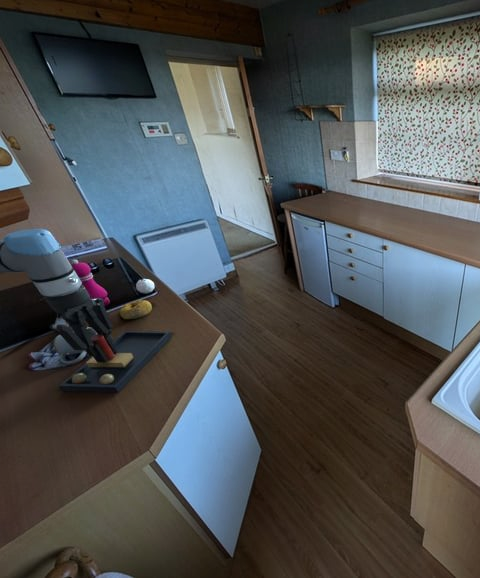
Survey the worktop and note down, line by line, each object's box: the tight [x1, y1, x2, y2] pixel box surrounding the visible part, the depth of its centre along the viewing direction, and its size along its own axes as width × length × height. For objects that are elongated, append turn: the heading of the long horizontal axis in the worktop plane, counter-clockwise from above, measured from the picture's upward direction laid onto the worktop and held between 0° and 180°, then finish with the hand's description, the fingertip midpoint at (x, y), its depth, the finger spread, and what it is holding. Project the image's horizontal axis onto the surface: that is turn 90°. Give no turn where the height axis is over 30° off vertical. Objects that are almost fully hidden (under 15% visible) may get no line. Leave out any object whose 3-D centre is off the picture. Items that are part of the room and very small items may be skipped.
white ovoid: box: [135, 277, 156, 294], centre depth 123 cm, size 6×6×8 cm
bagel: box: [119, 299, 153, 320], centre depth 112 cm, size 10×11×5 cm
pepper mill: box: [70, 259, 111, 307], centre depth 112 cm, size 7×7×20 cm
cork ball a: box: [72, 373, 87, 384], centre depth 83 cm, size 3×3×3 cm
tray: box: [59, 330, 173, 393], centre depth 91 cm, size 16×24×2 cm, turn 179°
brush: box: [85, 334, 134, 369], centre depth 85 cm, size 10×4×11 cm, turn 92°
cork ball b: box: [100, 374, 114, 385], centre depth 83 cm, size 3×3×3 cm
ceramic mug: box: [52, 326, 98, 365], centre depth 92 cm, size 11×8×8 cm
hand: (107, 357), depth 87 cm, fingers closed on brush, 3 cm apart
